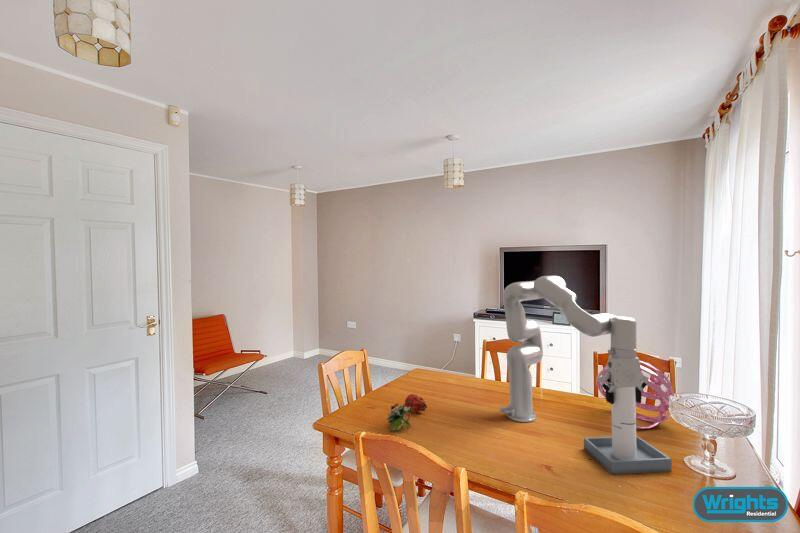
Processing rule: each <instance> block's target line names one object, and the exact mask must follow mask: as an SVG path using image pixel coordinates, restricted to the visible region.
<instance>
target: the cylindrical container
mask: <svg viewBox="0 0 800 533" xmlns="http://www.w3.org/2000/svg"><path fill="white" fill-rule="evenodd" d="M612 392H613V393H614V404H610V406H611V407H610V408H611V437H612V454H613V456H614V457H616V458H617V459H620V460H633V459H637V450H636V435H637V428H636V426H637V418H636V413H637V407H636V398H635V387H622V388H617V387H615V388H614V390H613V391H612Z"/></svg>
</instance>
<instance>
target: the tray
mask: <svg viewBox="0 0 800 533" xmlns="http://www.w3.org/2000/svg"><path fill="white" fill-rule="evenodd" d="M583 450H585V451H586V452H587V453H588V454H589V455H590V456H591V457H592V458H593V459H595V460H596V461H597V462H598V463H599V464H600V465H601V466H602V467H603V468H604V469H605V470H607V472H609V474H611V475H622V474H623V475H624V474H627V473H628V474H641V473H663V472H673V471H672V458H671V457H669V456H668V455H666V454H665V453H664V452H662V451H661V450H659V449H657V448H656V447H655V446H653V445H652V444H651V443H649V442H647V441H646V440H644V439H642V438H641V437H640V436H638V435H637V434H636V450H637V459H633V460H620V459H617V458H616V457H614V456H613V454H612V436H599V437H598V436H597V437H596V436H595V437H583Z"/></svg>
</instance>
